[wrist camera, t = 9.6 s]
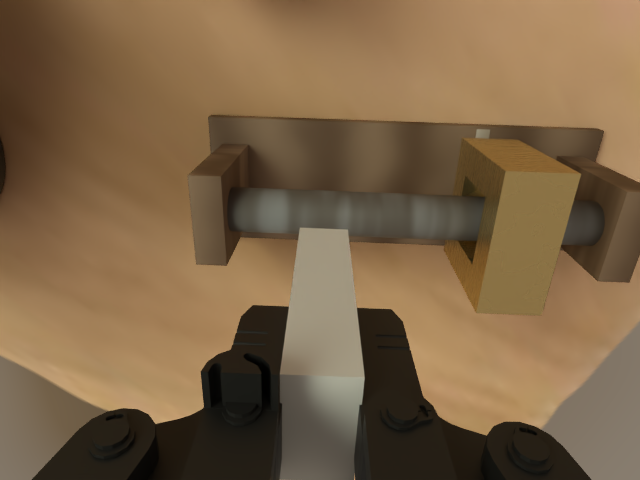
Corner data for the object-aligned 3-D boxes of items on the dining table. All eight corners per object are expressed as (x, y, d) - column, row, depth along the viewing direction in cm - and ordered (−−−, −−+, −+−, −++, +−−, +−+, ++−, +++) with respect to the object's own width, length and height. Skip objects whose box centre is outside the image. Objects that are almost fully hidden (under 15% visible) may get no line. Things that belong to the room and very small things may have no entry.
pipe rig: (219, 231, 39) (184, 290, 30) (211, 114, 35) (167, 141, 25) (563, 245, 38) (634, 309, 29) (596, 128, 34) (692, 160, 25)
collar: (443, 250, 35) (476, 312, 27) (461, 137, 32) (505, 171, 24) (493, 252, 35) (541, 315, 27) (517, 139, 32) (581, 173, 23)
